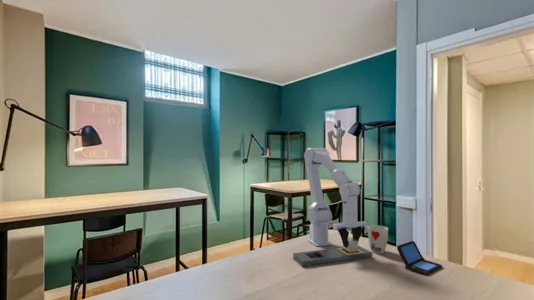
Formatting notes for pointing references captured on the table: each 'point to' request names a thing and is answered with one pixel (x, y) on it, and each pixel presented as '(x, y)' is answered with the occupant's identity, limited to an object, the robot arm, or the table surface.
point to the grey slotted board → (329, 256)
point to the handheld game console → (416, 259)
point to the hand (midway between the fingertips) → (350, 246)
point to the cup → (377, 238)
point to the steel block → (351, 246)
